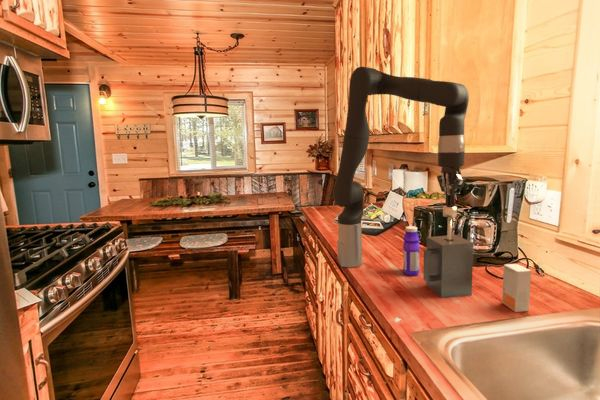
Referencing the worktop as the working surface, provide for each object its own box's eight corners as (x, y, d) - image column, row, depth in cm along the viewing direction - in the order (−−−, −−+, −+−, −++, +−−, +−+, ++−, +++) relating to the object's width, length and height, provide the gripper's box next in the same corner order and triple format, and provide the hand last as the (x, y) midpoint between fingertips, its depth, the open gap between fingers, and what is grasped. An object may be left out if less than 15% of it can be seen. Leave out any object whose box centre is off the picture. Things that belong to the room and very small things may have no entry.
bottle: (420, 277, 128) (420, 229, 126) (403, 276, 130) (404, 229, 127) (418, 269, 135) (418, 224, 133) (402, 269, 137) (402, 224, 134)
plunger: (443, 271, 111) (444, 209, 108) (430, 262, 119) (431, 205, 116) (467, 269, 112) (469, 208, 109) (453, 260, 119) (455, 203, 116)
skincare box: (501, 303, 106) (503, 264, 104) (515, 302, 106) (517, 263, 104) (515, 312, 100) (517, 271, 98) (529, 311, 100) (532, 270, 98)
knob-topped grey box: (432, 298, 110) (432, 246, 108) (417, 286, 120) (418, 237, 118) (471, 295, 112) (473, 242, 109) (454, 282, 122) (455, 234, 119)
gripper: (429, 151, 115) (428, 204, 118) (451, 151, 102) (449, 211, 105) (451, 149, 116) (450, 202, 119) (475, 150, 103) (473, 209, 106)
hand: (449, 206), depth 112 cm, fingers closed
